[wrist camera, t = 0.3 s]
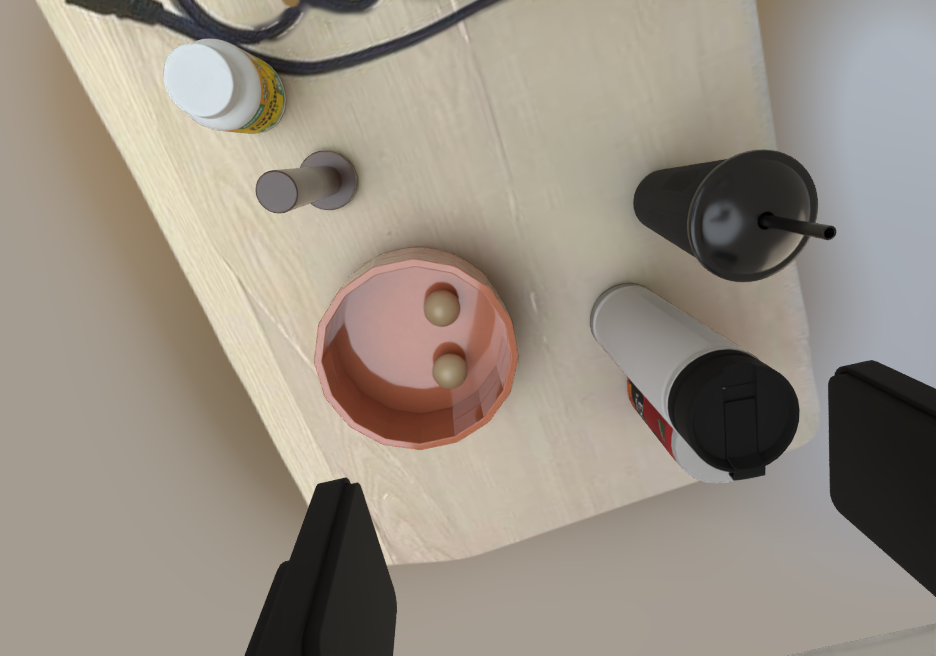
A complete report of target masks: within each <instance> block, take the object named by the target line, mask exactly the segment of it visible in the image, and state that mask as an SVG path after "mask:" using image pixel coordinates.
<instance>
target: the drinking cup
mask: <svg viewBox="0 0 936 656" xmlns="http://www.w3.org/2000/svg"><path fill="white" fill-rule="evenodd" d="M634 210H635V213H636V216H637V218H638V219H639V220H640V222H641V223H642V224H644V225H645V226H647V227H648V228H650V229H651V230H653V231H655V232H656V233H658V234H659V235H661V236H662V237H664V238H666V239H667V240H669V241H670V242H672V243H673V244H675V245H677V246H678V247H680V248H681V249H683V250H684V251H686V252H688V253H689V254H691V255H692V256H694V257H696V258H697V260H698V261H699V262H700V263H701V265H702V266H703V267H704V268H706V269H707V270H708V271H709V272H711V273H712V274H714V275H716V276H718V277H720V278H723V279H726V280H730V281H735V282H751V281H757V280H761V279H764V278H767V277H769V276H772V275H774V274H776V273H777V272H779V271H781V270H782V269H784V268H785V267H787V266H788V265H789V264H790V263H791V262H792V261H793V260H795V259H796V257H797V256H798V255H799V254H800V253H801V251H802V250H803V249H804V247H805V246H806V244H807V243H808V241H809V239H810V237H815V238H820V239H824V240H831V239H833V238H834V236H835V235H836V229H835V227H834V226H829V225H823V224H818V223H816V219H817V213H818V198H817V192H816V188H815V185H814V182H813V180H812V178H811V176H810V174H809V173H808V171H807V170H806V169H805V168H804V167H803V165H801V164H800V163H799V162H798V161H797V160H796V159H794V158H792V157H791V156H788V155H786V154H785V153H781V152H778V151H773V150H752V151H747V152H743V153H740V154H737V155H735V156H733V157H730V158H729V159H725V160H719V161H713V162H706V163H700V164H694V165H688V166H682V167H676V168H670V169H664V170H659V171H655V172H653V173H651V174H649V175H648V176H647V177H645V178H644V179H643V180H642V182H641V183H640V184H639V186H638V187H637V190H636V192H635V195H634Z"/></svg>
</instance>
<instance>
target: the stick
mask: <svg viewBox="0 0 936 656" xmlns="http://www.w3.org/2000/svg"><path fill="white" fill-rule="evenodd" d="M356 190H357V174H356V171H355V169H354V167H353V165H352V164H351V163H350V161H349V160H348V159H347V158H345V157H344V156H342V155H341V154H339V153H336V152H332V151H319V152H315V153H313V154H311V155H310V156H308V157H307V158H306V159H305V160H304V161H303V163H302V164H301V167H300V168H296V169H284V170H272V171H268V172H266V173H264V174H263V175H262V176H261V177H260V178H259V179H258V181H257V184H256V196H257V198H258V201H259V202H260V204H261V205H262V206H263V207H264V208H265V209H267V210H268V211H270V212H273V213H285V212H288V211H291V210H293V209H296V208H299V207H301V206H304V205H307V204H309V203H311V204H312V205H313V206H315V207H317V208H320V209H324V210H334V209H338V208H341V207H343V206H344V205H346V204H347V203H349V202H350V201H351V199H352V198H353V197H354V195H355V193H356Z"/></svg>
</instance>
